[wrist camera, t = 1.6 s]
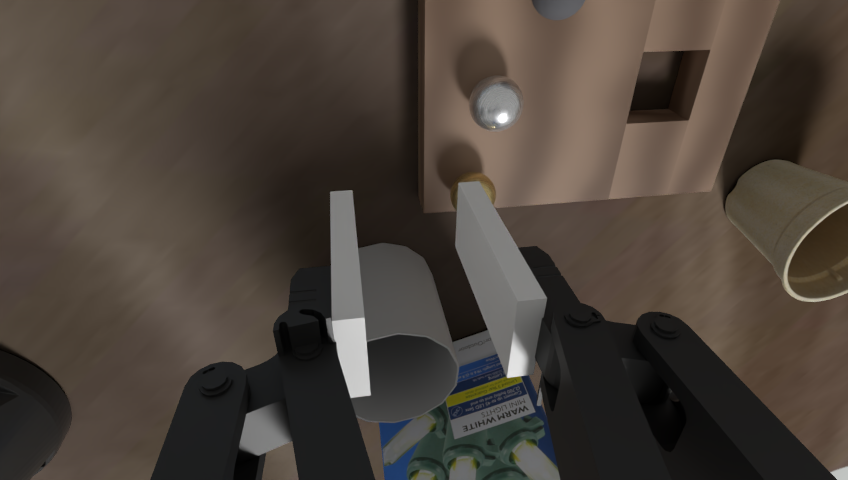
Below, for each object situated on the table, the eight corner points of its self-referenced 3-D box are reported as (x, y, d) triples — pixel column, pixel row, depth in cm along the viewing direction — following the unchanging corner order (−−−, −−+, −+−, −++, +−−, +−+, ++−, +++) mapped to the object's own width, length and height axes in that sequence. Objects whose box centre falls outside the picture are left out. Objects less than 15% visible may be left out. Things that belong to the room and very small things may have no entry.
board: (418, 196, 36) (423, 213, 34) (418, -58, 28) (425, -56, 25) (690, 176, 39) (711, 191, 37) (768, -58, 31) (800, -56, 29)
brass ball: (445, 205, 34) (454, 227, 32) (446, 165, 33) (456, 186, 30) (487, 202, 35) (499, 224, 32) (490, 162, 33) (504, 182, 30)
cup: (357, 228, 37) (366, 317, 29) (450, 262, 40) (482, 352, 32) (313, 309, 40) (310, 409, 32) (402, 335, 44) (419, 432, 35)
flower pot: (832, 178, 42) (936, 231, 35) (740, 256, 45) (818, 319, 38) (781, 116, 38) (888, 163, 31) (684, 207, 41) (760, 268, 34)
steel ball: (461, 122, 31) (474, 141, 28) (464, 70, 29) (478, 85, 27) (510, 119, 32) (527, 138, 29) (516, 68, 30) (534, 82, 27)
